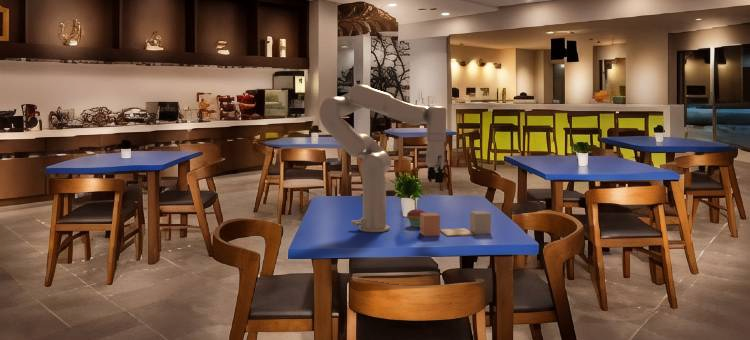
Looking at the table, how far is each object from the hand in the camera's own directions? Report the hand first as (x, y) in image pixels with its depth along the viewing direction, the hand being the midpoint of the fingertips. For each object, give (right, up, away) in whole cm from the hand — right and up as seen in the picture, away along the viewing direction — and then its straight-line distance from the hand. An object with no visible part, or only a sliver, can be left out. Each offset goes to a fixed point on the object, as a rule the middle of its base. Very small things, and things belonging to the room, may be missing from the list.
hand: (435, 180), depth 243 cm
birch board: (+9, -21, +2) cm, 23 cm away
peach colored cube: (-2, -21, 0) cm, 21 cm away
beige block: (+19, -21, +4) cm, 28 cm away
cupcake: (-6, -20, +17) cm, 27 cm away
